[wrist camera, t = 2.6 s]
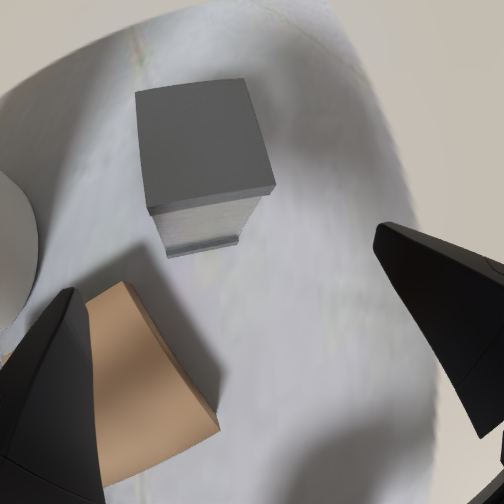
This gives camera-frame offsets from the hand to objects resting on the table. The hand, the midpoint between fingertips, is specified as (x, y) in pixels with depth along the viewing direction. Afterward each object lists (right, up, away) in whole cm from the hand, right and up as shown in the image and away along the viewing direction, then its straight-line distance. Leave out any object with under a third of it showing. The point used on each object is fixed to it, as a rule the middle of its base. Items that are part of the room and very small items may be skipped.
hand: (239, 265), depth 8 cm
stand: (-9, -8, +9) cm, 15 cm away
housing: (-3, +3, +12) cm, 13 cm away
